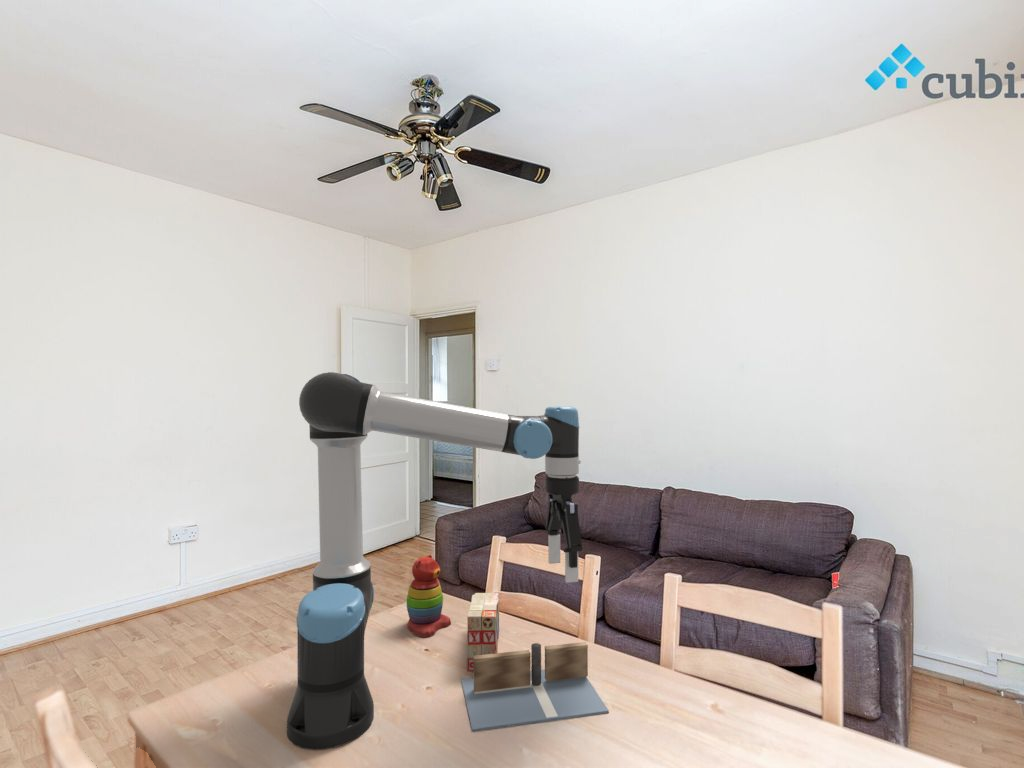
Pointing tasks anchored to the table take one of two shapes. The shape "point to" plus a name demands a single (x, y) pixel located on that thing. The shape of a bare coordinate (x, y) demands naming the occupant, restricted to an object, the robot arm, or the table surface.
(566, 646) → the fence folding panel
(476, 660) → the fence fixed panel
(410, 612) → the stacking bear
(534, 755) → the table surface
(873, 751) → the table surface
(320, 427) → the robot arm
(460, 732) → the table surface
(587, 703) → the board
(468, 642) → the stack of blocks
